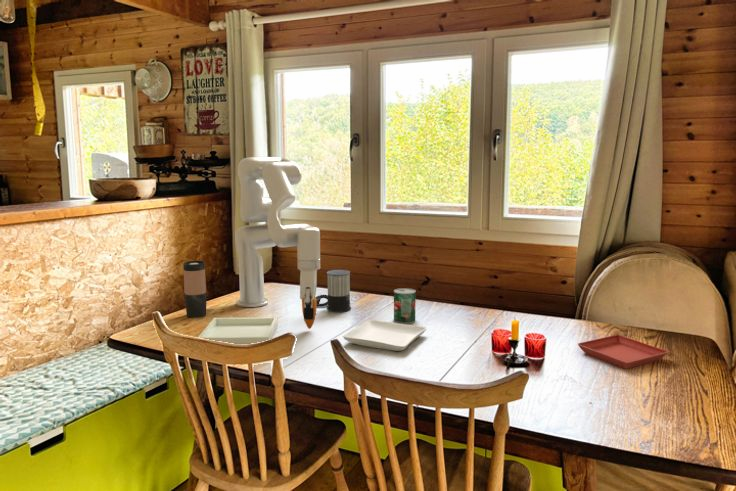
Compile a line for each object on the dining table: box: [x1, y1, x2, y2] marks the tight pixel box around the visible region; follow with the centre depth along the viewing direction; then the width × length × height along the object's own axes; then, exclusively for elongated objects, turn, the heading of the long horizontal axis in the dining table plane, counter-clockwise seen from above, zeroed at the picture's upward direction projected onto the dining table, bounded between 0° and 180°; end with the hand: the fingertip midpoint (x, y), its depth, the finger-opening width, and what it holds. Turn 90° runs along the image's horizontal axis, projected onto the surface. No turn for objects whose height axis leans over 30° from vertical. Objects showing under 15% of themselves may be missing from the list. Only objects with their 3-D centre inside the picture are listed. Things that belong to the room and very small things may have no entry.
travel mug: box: [182, 260, 207, 319], centre depth 212 cm, size 8×8×20 cm
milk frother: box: [315, 269, 352, 313], centre depth 222 cm, size 14×16×15 cm
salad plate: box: [342, 319, 427, 352], centre depth 184 cm, size 21×21×3 cm
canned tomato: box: [393, 287, 417, 325], centre depth 206 cm, size 8×8×11 cm
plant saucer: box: [577, 334, 669, 370], centre depth 169 cm, size 18×18×3 cm
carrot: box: [301, 297, 318, 330], centre depth 193 cm, size 5×5×15 cm
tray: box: [197, 316, 279, 344], centre depth 189 cm, size 22×22×3 cm
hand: (309, 316), depth 193 cm, fingers closed on carrot, 4 cm apart
